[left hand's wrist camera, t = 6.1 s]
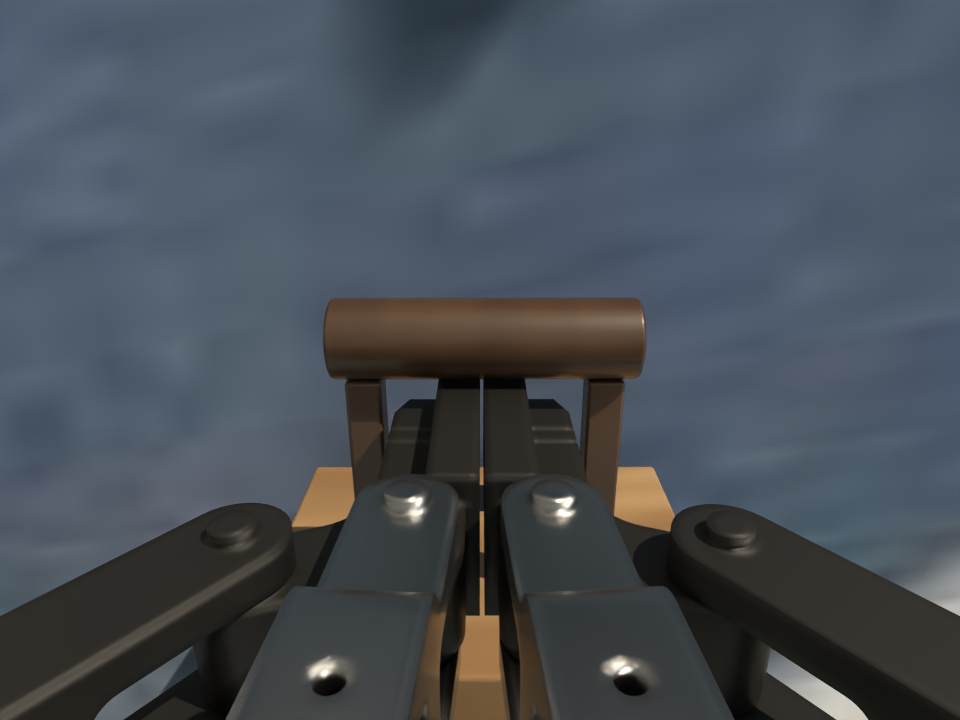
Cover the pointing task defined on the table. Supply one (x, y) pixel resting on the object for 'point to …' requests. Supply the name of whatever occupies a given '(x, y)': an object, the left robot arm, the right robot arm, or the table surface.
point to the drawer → (485, 355)
